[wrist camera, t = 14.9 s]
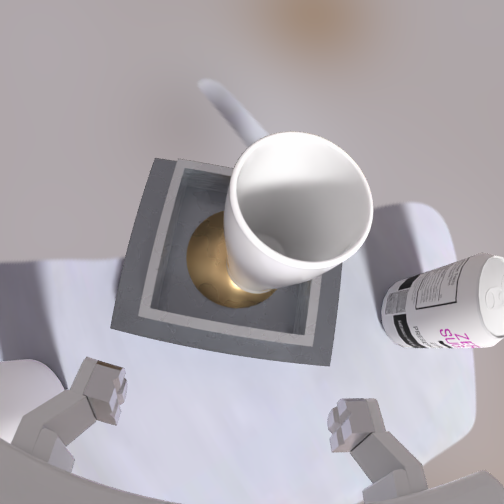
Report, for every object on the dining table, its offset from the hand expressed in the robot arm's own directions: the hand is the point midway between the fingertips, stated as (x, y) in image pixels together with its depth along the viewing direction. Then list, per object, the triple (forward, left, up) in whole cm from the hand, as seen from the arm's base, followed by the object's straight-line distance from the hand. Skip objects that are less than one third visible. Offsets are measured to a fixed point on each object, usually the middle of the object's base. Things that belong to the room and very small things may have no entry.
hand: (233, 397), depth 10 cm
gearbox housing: (0, +9, -19) cm, 21 cm away
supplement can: (+21, +7, -20) cm, 30 cm away
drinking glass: (+2, +9, -15) cm, 18 cm away
